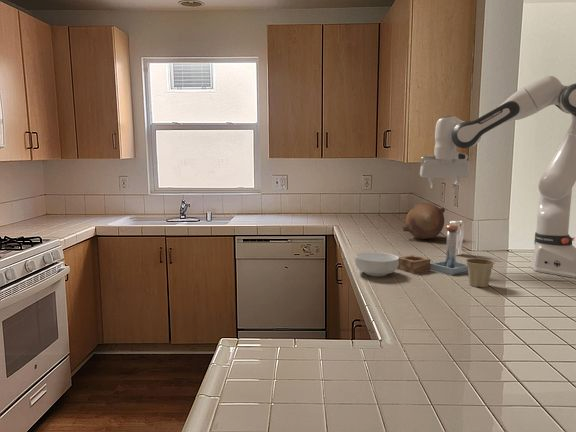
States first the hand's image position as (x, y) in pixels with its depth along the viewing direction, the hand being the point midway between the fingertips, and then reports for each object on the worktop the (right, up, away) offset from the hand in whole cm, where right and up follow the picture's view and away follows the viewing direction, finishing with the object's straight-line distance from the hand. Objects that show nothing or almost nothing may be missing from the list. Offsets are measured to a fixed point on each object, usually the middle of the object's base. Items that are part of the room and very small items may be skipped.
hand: (443, 188), depth 201 cm
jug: (+7, -24, +57) cm, 62 cm away
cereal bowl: (-32, -35, -19) cm, 51 cm away
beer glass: (+10, -30, +15) cm, 35 cm away
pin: (-2, -33, -15) cm, 36 cm away
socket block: (-16, -33, -13) cm, 39 cm away
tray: (-2, -33, -15) cm, 37 cm away
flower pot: (+1, -36, -35) cm, 50 cm away
